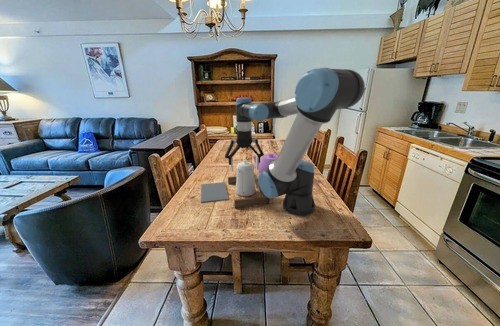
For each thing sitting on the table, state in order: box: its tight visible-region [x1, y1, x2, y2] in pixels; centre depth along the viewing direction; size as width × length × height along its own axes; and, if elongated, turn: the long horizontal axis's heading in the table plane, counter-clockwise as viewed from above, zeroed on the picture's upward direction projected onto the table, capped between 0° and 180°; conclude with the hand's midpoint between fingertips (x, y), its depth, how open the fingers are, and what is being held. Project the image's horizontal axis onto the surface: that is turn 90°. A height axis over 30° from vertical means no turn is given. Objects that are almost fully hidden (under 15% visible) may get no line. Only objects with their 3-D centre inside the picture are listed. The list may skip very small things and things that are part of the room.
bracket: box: [227, 174, 271, 209], centre depth 119 cm, size 30×17×4 cm, turn 12°
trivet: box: [200, 181, 229, 204], centre depth 121 cm, size 22×14×1 cm, turn 12°
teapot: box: [252, 152, 279, 174], centre depth 143 cm, size 20×20×15 cm
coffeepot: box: [235, 159, 256, 197], centre depth 117 cm, size 11×25×19 cm, turn 168°
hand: (244, 169), depth 116 cm, fingers open, 13 cm apart
